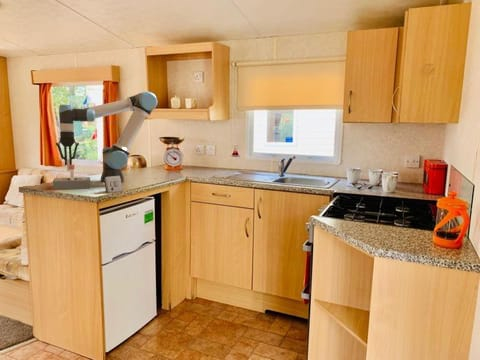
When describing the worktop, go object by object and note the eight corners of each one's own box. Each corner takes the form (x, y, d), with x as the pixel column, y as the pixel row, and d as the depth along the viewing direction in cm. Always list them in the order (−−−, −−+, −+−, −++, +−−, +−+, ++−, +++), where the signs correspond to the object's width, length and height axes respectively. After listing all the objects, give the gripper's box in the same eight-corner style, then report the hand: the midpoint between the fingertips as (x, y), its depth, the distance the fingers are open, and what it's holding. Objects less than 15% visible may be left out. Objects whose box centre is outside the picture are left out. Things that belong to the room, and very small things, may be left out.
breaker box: (90, 185, 231) (89, 176, 230) (90, 188, 219) (90, 180, 218) (55, 186, 223) (54, 177, 222) (53, 189, 211) (52, 181, 210)
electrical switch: (108, 193, 206) (107, 177, 205) (103, 193, 209) (102, 177, 208) (122, 191, 213) (121, 175, 212) (117, 191, 216) (116, 175, 216)
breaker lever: (74, 180, 224) (74, 164, 222) (74, 181, 218) (74, 165, 217) (70, 180, 223) (69, 164, 221) (69, 181, 217) (69, 165, 216)
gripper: (54, 131, 210) (56, 171, 214) (78, 131, 215) (80, 171, 219) (55, 130, 217) (57, 169, 221) (79, 131, 222) (80, 169, 226)
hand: (68, 170), depth 220 cm, fingers closed
